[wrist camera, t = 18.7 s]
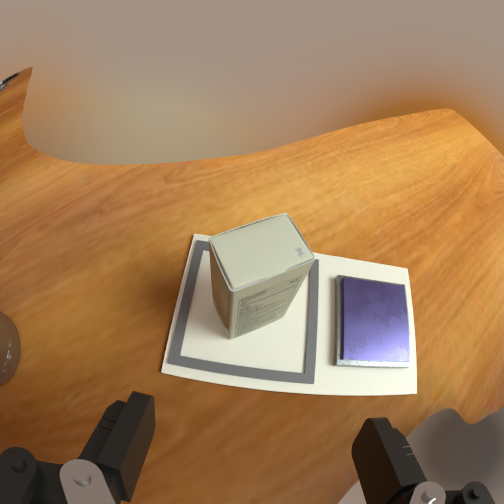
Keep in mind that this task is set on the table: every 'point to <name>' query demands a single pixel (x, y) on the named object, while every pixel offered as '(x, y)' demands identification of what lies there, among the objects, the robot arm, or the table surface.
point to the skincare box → (257, 272)
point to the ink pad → (371, 324)
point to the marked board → (280, 336)
